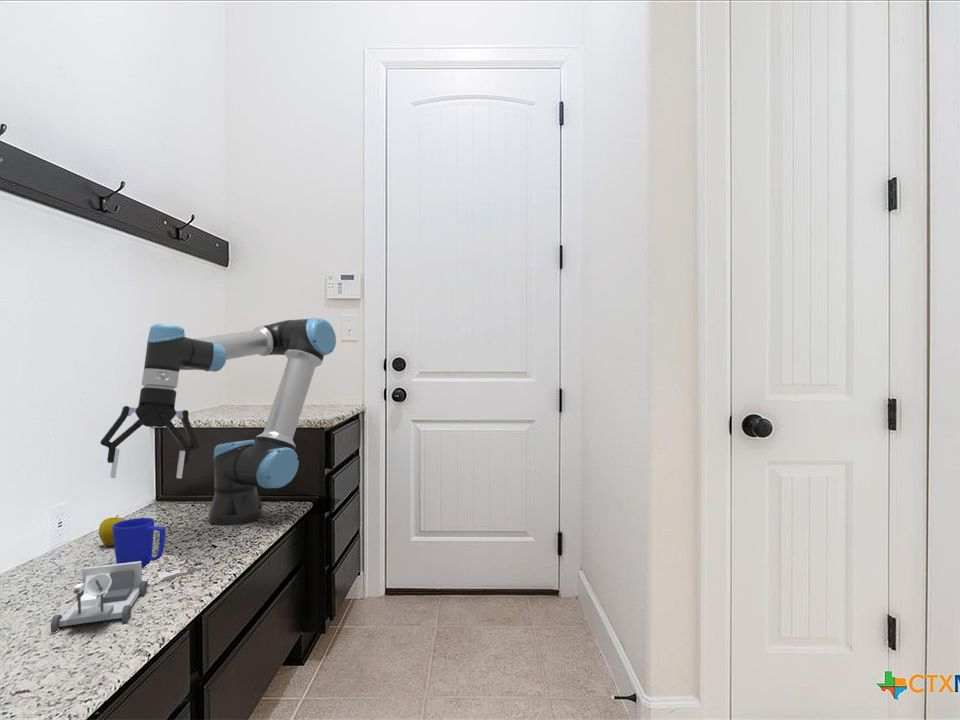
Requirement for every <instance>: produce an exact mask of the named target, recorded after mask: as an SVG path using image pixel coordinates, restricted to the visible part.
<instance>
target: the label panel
mask: <svg viewBox="0 0 960 720" xmlns="http://www.w3.org/2000/svg"><path fill="white" fill-rule="evenodd" d="M144 567H145V566H143V567H141V570H144V569H145V568H147V567H145V568H144ZM207 567H208V566H206V565H204V566H203V567H202V568H199V570H200V571H202V570H201V569H203V570H205V569H204V568H206V569H208V568H207ZM190 569H192V570H187V572H186V573H180V571H181V570H175V571H170V572H172V573H168V572H160V573H157V574H159V575H158V576H159V577H158V578H160V579H161V578H164V579H163V580H161V581H160V582H163V583H165V582H164V581H167V580H170V579H173V578H176V577H179V576H182V575H185V574H188V573H191V574H193V573H192V572H194V573H196V572H195V571H197V570H198V569H197V568H190ZM167 570H168V569H167ZM163 571H165V570H163ZM182 572H183V571H182ZM197 572H198V571H197ZM161 573H162V574H161ZM177 573H180V574H177ZM142 575H144V574H142ZM148 575H149V574H148ZM188 575H189V574H188ZM146 576H147V575H144V576H142V578H144V577H145V578H147V577H149V576H147V577H146ZM185 576H186V575H185ZM182 577H183V576H182ZM179 578H180V577H179ZM176 579H177V578H176ZM146 580H147V579H146ZM173 580H174V579H173ZM170 581H171V580H170ZM160 582H159V583H160ZM167 582H168V581H167ZM160 584H161V583H160ZM149 585H150V584H147V587H148V586H149ZM148 588H149V587H148Z"/></svg>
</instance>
